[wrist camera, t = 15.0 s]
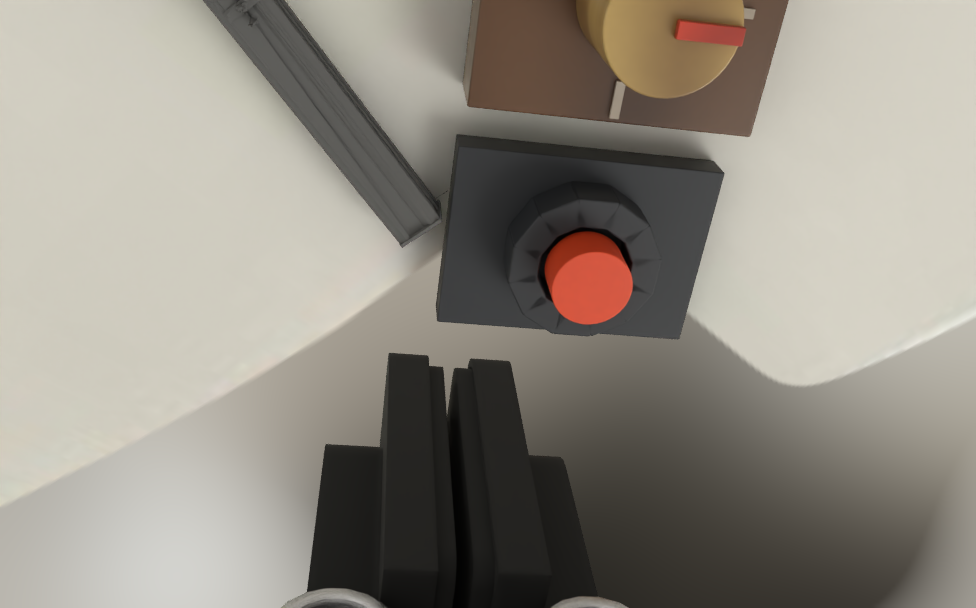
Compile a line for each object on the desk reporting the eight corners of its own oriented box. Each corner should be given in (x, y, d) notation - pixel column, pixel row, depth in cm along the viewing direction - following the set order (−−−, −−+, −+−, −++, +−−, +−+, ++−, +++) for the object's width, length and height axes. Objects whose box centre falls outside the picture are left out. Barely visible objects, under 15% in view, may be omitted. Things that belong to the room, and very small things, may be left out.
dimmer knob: (566, 55, 32) (592, 94, 28) (587, -76, 30) (619, -57, 25) (683, 68, 33) (728, 108, 28) (712, -61, 30) (765, -39, 26)
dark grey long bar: (452, 193, 38) (458, 235, 34) (401, 226, 38) (401, 271, 34) (128, -239, 29) (89, -245, 26) (69, -188, 30) (23, -187, 26)
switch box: (435, 305, 40) (438, 345, 37) (456, 134, 36) (461, 163, 33) (670, 323, 41) (691, 363, 38) (713, 160, 38) (741, 191, 35)
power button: (538, 298, 37) (544, 321, 35) (551, 227, 35) (558, 248, 33) (613, 304, 37) (623, 327, 35) (629, 234, 36) (640, 255, 34)
